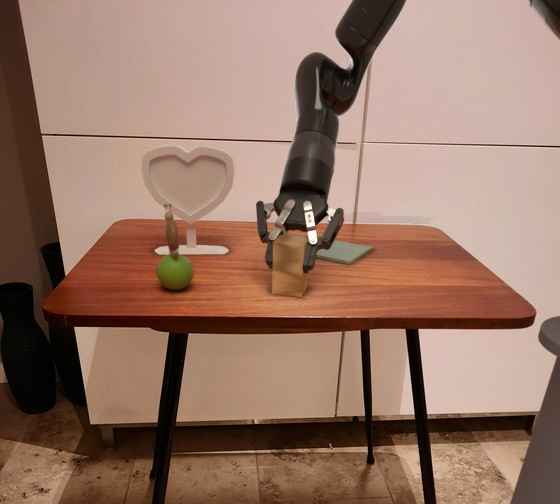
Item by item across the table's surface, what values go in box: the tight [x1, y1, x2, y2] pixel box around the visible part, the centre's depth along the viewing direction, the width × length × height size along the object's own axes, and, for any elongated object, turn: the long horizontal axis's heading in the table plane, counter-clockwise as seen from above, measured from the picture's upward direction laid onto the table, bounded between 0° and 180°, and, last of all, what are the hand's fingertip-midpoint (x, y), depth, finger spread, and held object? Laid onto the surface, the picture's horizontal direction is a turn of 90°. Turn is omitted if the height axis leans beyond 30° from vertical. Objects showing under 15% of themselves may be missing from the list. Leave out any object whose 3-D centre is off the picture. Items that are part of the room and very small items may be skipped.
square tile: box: [316, 239, 373, 265], centre depth 103 cm, size 11×11×1 cm
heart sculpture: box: [140, 143, 235, 256], centre depth 96 cm, size 16×5×18 cm, turn 98°
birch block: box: [271, 234, 309, 298], centre depth 82 cm, size 5×5×8 cm
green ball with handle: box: [156, 203, 194, 291], centre depth 80 cm, size 5×6×12 cm
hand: (288, 268), depth 80 cm, fingers closed on birch block, 4 cm apart
